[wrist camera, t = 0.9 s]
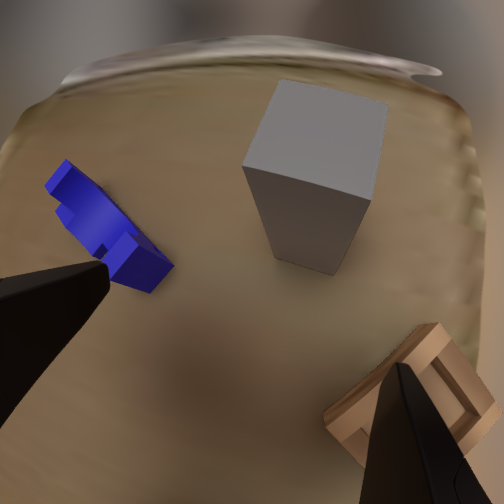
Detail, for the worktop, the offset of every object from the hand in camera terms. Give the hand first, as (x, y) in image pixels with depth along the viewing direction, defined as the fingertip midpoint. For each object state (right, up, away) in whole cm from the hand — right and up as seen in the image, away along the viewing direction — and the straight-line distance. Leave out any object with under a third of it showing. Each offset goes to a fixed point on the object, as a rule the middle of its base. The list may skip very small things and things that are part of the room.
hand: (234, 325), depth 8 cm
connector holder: (+12, -10, +10) cm, 18 cm away
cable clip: (-11, +3, +17) cm, 21 cm away
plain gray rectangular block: (+5, +3, +14) cm, 16 cm away
